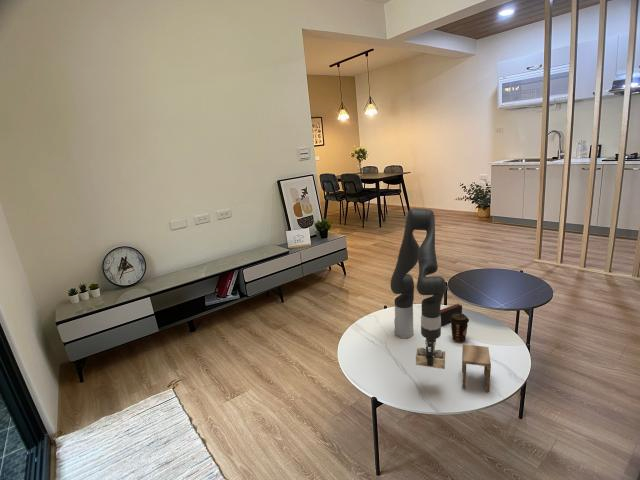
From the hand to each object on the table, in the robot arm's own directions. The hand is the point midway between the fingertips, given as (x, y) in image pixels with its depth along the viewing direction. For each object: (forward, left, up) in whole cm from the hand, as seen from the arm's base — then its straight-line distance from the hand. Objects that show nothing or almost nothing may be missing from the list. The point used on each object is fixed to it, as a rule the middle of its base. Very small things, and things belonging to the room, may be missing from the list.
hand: (430, 360), depth 144 cm
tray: (0, 0, -1) cm, 1 cm away
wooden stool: (+17, +8, -13) cm, 23 cm away
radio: (+5, +55, -13) cm, 57 cm away
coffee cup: (+11, +39, -13) cm, 43 cm away
